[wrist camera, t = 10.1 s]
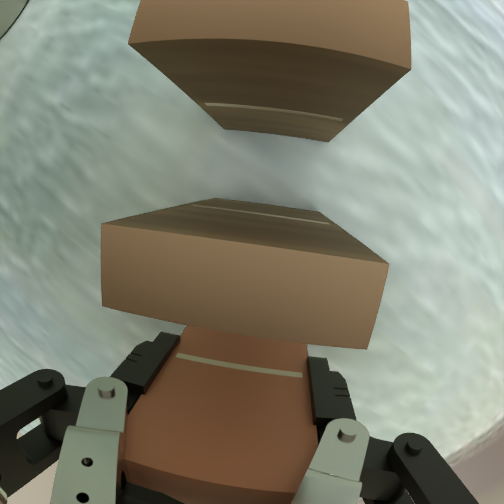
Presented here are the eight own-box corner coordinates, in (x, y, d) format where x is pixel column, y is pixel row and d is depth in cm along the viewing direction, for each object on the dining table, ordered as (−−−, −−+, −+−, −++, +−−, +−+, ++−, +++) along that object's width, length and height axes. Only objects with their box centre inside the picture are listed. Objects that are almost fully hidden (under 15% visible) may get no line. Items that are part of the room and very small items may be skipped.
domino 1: (228, 97, 14) (147, -20, 4) (332, 110, 13) (408, 0, 4) (224, 129, 14) (127, 44, 4) (328, 142, 14) (411, 70, 4)
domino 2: (215, 197, 15) (101, 222, 5) (319, 211, 14) (389, 262, 5) (211, 231, 15) (102, 307, 5) (314, 245, 15) (366, 350, 5)
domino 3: (202, 302, 15) (104, 451, 5) (303, 318, 15) (322, 493, 5) (200, 332, 16) (115, 485, 6) (297, 346, 15) (305, 522, 5)
